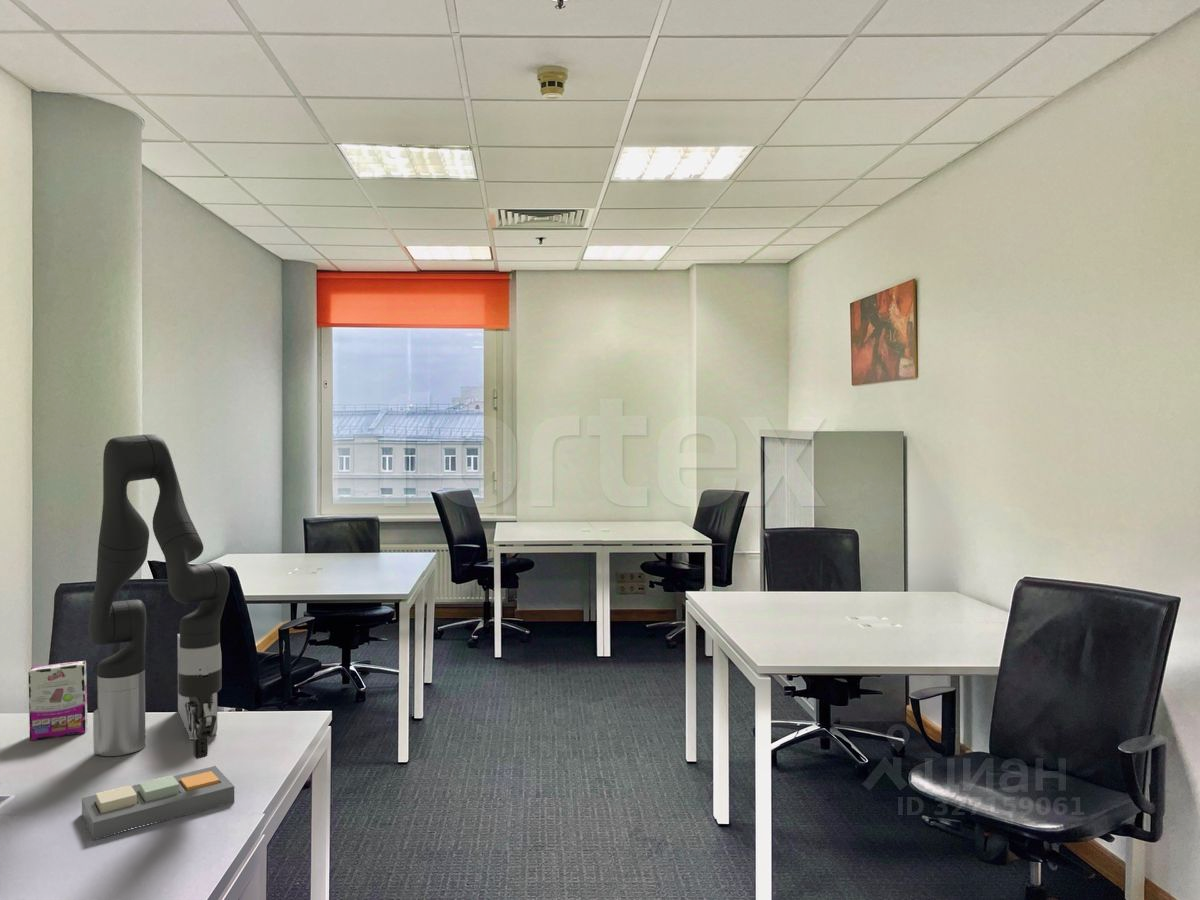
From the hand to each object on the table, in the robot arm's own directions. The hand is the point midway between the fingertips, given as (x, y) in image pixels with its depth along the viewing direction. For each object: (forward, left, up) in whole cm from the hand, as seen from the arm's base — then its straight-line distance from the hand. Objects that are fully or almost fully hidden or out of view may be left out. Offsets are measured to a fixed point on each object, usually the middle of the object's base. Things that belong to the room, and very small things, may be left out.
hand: (200, 756), depth 156 cm
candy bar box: (-48, +40, -8) cm, 63 cm away
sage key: (-6, -4, -5) cm, 9 cm away
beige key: (-11, -8, -5) cm, 15 cm away
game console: (-18, +44, -8) cm, 48 cm away
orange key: (0, 0, -6) cm, 6 cm away
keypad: (-6, -4, -8) cm, 11 cm away
